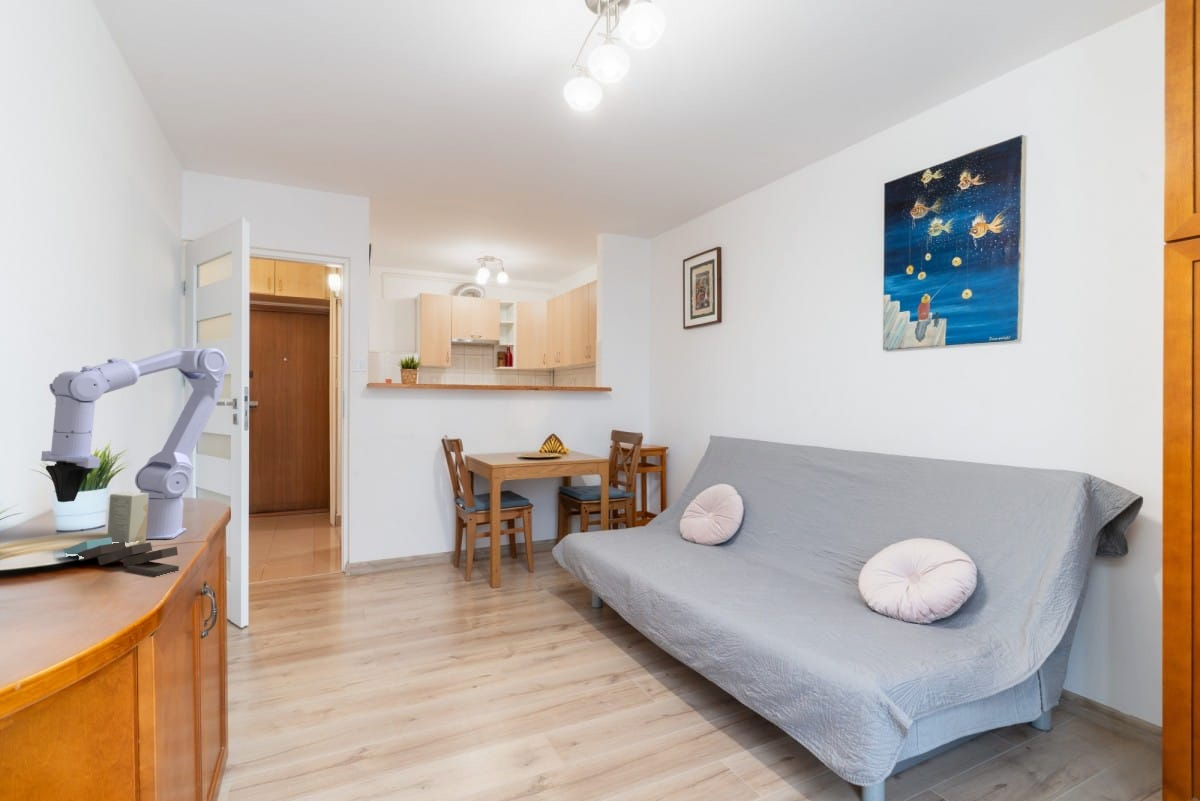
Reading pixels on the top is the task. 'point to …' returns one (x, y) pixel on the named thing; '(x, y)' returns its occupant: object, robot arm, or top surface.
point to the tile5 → (152, 568)
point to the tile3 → (124, 553)
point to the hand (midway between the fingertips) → (66, 501)
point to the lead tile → (88, 545)
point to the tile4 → (150, 556)
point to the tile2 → (101, 550)
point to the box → (128, 517)
